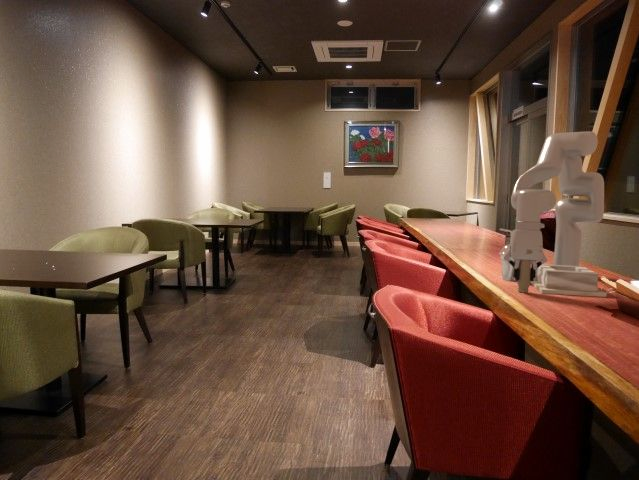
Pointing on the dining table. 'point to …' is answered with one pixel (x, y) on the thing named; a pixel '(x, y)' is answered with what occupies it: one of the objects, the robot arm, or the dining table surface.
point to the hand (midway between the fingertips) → (523, 279)
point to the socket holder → (567, 280)
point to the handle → (524, 274)
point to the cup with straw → (506, 266)
